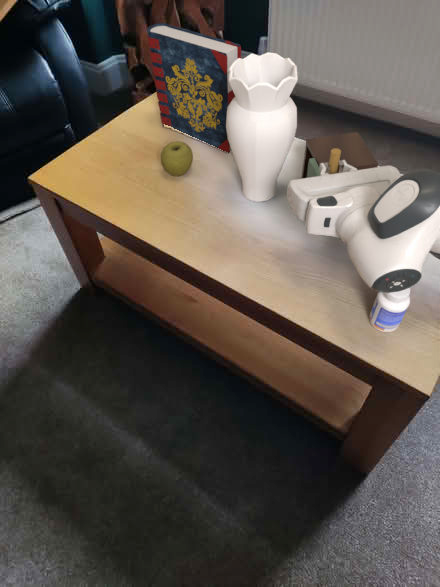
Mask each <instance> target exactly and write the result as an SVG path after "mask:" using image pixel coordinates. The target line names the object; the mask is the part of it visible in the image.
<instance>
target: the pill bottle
mask: <svg viewBox="0 0 440 587" xmlns="http://www.w3.org/2000/svg"><path fill="white" fill-rule="evenodd" d="M410 294H411V287H410V288H408V289H405V290H402V291H399V292H391V293H385V292H380V291H377V295H376V297H375V300H374V302H373V304H372V308H371V310H370V312H369V322H370V324H371V326H372V327H373V328H375V329H376V330H377V331H379V332H383V333H391V332H394V331H396V330H397V329H398V328H399V326H400V325H401V324H402V323H401V322H402V321H403V319H404V316H405V314H406V312H407V311H408V309H409V306H410V303H411V298H410Z"/></svg>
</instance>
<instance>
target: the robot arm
mask: <svg viewBox="0 0 440 587" xmlns="http://www.w3.org/2000/svg"><path fill="white" fill-rule="evenodd" d="M330 168H331V167H330V165H329V163H328V162H326V163H320V167H319V171H320V173H321V174H320V176H316V177H309V178H302V179H301V178H297V179H292V180H290V181H289V183H288V185H287V193H286V194H287V195H286V197H287V201H288V203H289V205H290V208H291V209H292V211H293V212H294V214H295V216H296V217H297V218H298V219H299V220H300V221H301V222H303V223H305V231H306V233H307V234H308V235H316V236H327V237H333V238H338V239H340V240H341V241H342V242H343V243H344V244H345V245H346V247H347V254H348V256H349V259H350V261H351V263H352V264H353V266H354V268H355V270H356V271H357V273H358V275H359V276H360V278H361V279H362V281H363V282H364V283H365V284H366V285H367V287H369V288H370V289H372V290H374V291H377V292H379V291H380V292H385V293H391V292H399V291H402V290H405V289H408V288H410V289H411V287H413V286H414V285H416V284H418V282H420V280H421V279H422V277H423V268H424V265H425V262H426V260H427V258H428V255H429V254H430V255H432V256H433V257H434V258H436V259H438V260H440V173H439V172H437V171H436V170H433V169H429V168H419V169H415V170H414V169H413V170H411V171H409V172H407V173H405V174H403V175H401V173H400V171H399V169H398V168H397V167H395V166H393V165H383V166H378V167H375V168H369V169H362V170H357V168H355V167H353V166H351V165H348V164H347V163H346V161H345V160H340V161H339V164H338V169H337V172H338V173H336V174H329V173H330V171H329V170H330Z"/></svg>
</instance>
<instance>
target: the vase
mask: <svg viewBox="0 0 440 587" xmlns="http://www.w3.org/2000/svg"><path fill="white" fill-rule="evenodd" d="M227 72H228V74H229V83H230V85H231V87H232V90H233V92H234V94H235V97H234V98H233V100H232V101H231V103H230V104H229V106H228V108H227V118H226V130H227V137H228V141H229V144H230V147H231V148H230V151H231V152H232V155H233V158H234V162H235V164H236V167H237V170H238V172H239V175H240V179H241V193H242V195H243V197H244V198H246V199H247V200H249V201H252V202H257V203H259V202H266V201H269V200H270V199H272V198H274V196H275V195H276V191H277V182H278V178H279V176H280V174H281V171H282V169H283V167H284V164H285V162H286V160H287V157H288V155H289V154H290V153H289V152H290V150H291V148H292V145H293V143H294V141H295V137H296V133H297V128H298V107H297V105H296V104H295V102H294V100H293V99H292V97H291V95H292V92H293V91H294V89H295V86H296V85H297V83H298V81H299V80H298V78H299V77H298V66H297V64H295V62H294V61H293V60H292V59H291V58H290V57H286V58H284V57H282V56H281V55H279V54H278V53H276V52H269V51H267V52H265V53H262V54H261V55H258V54H255V53H250V54H249V55H247V56H246V57H244V58H242V57H241V58H238V59H237V60H236V61H234V62H233V64H232V65H231V67H230V68H229V70H228V71H227Z"/></svg>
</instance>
